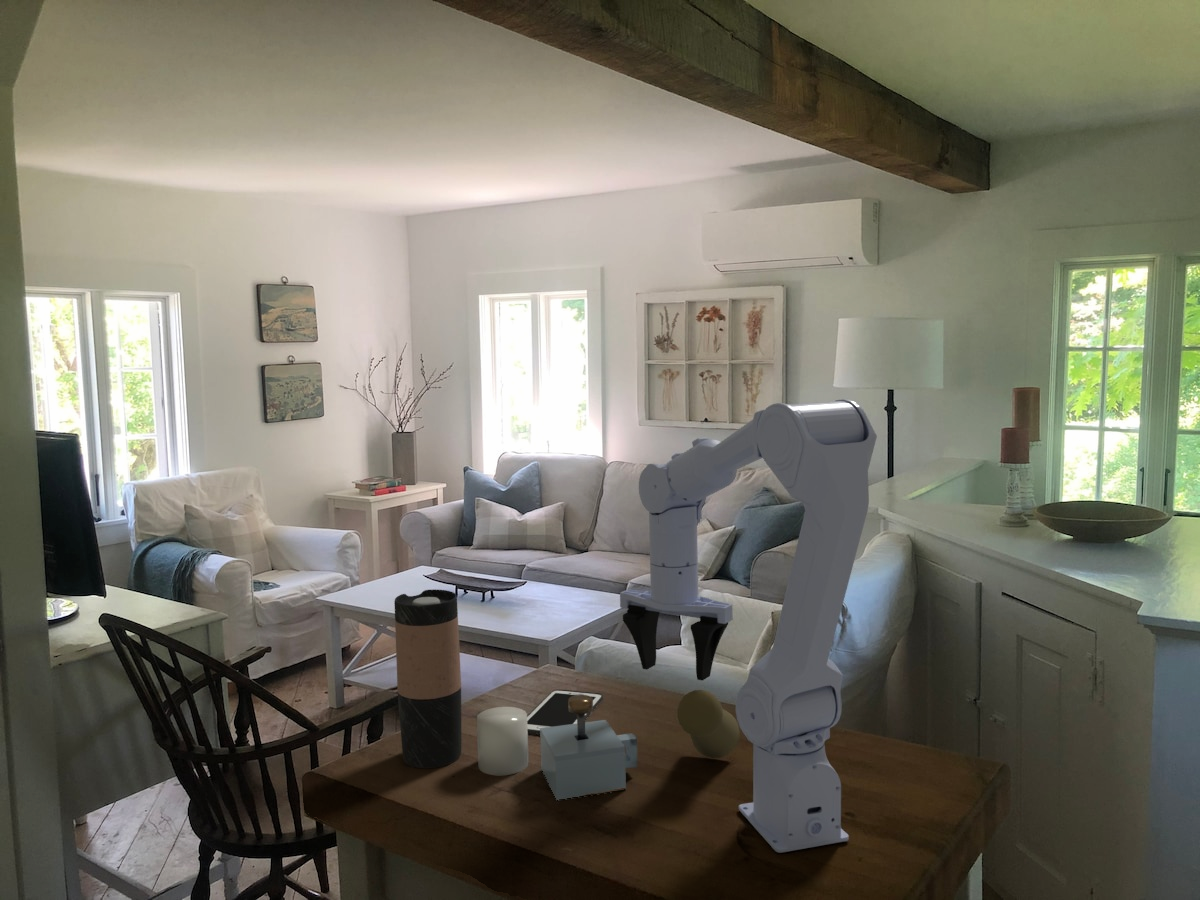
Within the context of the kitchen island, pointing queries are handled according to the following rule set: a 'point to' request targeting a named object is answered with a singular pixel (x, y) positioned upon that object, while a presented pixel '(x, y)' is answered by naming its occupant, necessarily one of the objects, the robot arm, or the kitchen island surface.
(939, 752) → the kitchen island surface
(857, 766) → the kitchen island surface
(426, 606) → the travel mug
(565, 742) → the blue box with knob
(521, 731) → the white pillar candle
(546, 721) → the cell phone
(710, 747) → the cork
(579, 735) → the plunger
